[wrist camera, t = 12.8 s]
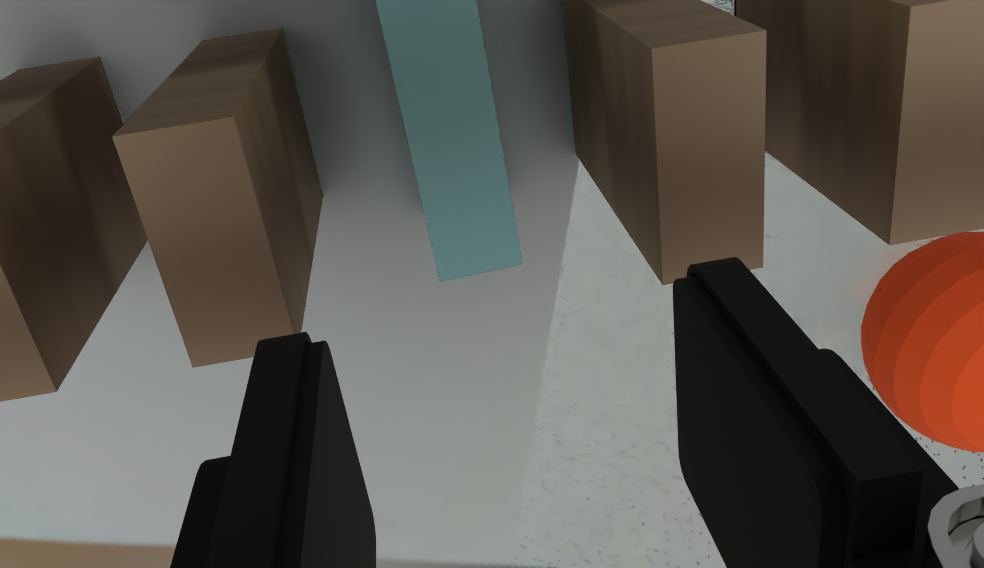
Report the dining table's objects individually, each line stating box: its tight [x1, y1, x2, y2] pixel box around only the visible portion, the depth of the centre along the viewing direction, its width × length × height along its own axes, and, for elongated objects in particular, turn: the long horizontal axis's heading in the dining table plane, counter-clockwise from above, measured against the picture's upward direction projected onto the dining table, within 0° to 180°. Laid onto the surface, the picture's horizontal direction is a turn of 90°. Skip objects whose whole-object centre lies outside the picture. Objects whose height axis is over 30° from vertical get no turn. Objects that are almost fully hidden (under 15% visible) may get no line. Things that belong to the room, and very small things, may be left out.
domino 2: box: [112, 28, 323, 367], centre depth 21 cm, size 5×2×9 cm, turn 8°
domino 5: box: [734, 0, 984, 245], centre depth 21 cm, size 5×2×9 cm, turn 8°
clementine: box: [861, 232, 984, 452], centre depth 27 cm, size 8×7×7 cm
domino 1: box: [0, 57, 148, 402], centre depth 20 cm, size 5×2×9 cm, turn 8°
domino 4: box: [562, 0, 767, 285], centre depth 21 cm, size 5×2×9 cm, turn 8°
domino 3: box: [375, 0, 523, 281], centre depth 22 cm, size 5×2×9 cm
